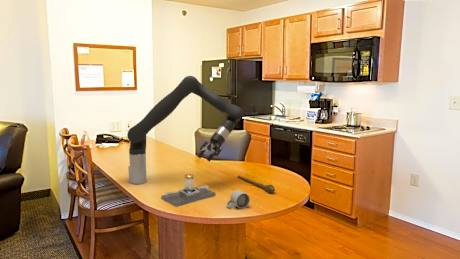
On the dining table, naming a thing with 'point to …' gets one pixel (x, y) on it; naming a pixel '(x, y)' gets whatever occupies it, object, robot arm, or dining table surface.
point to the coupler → (189, 183)
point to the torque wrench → (267, 187)
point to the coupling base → (187, 195)
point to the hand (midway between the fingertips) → (203, 159)
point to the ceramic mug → (239, 200)
